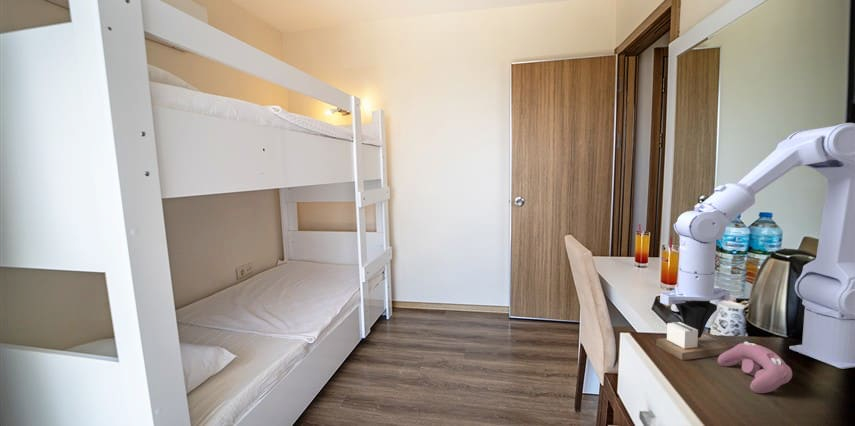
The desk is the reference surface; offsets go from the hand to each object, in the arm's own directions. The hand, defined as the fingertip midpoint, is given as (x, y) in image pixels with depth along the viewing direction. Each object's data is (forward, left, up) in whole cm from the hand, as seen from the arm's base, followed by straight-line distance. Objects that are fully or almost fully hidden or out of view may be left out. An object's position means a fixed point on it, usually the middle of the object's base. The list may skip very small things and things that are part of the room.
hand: (693, 335), depth 70 cm
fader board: (-1, 0, -3) cm, 3 cm away
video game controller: (0, +11, -3) cm, 11 cm away
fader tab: (+3, 0, -1) cm, 3 cm away
